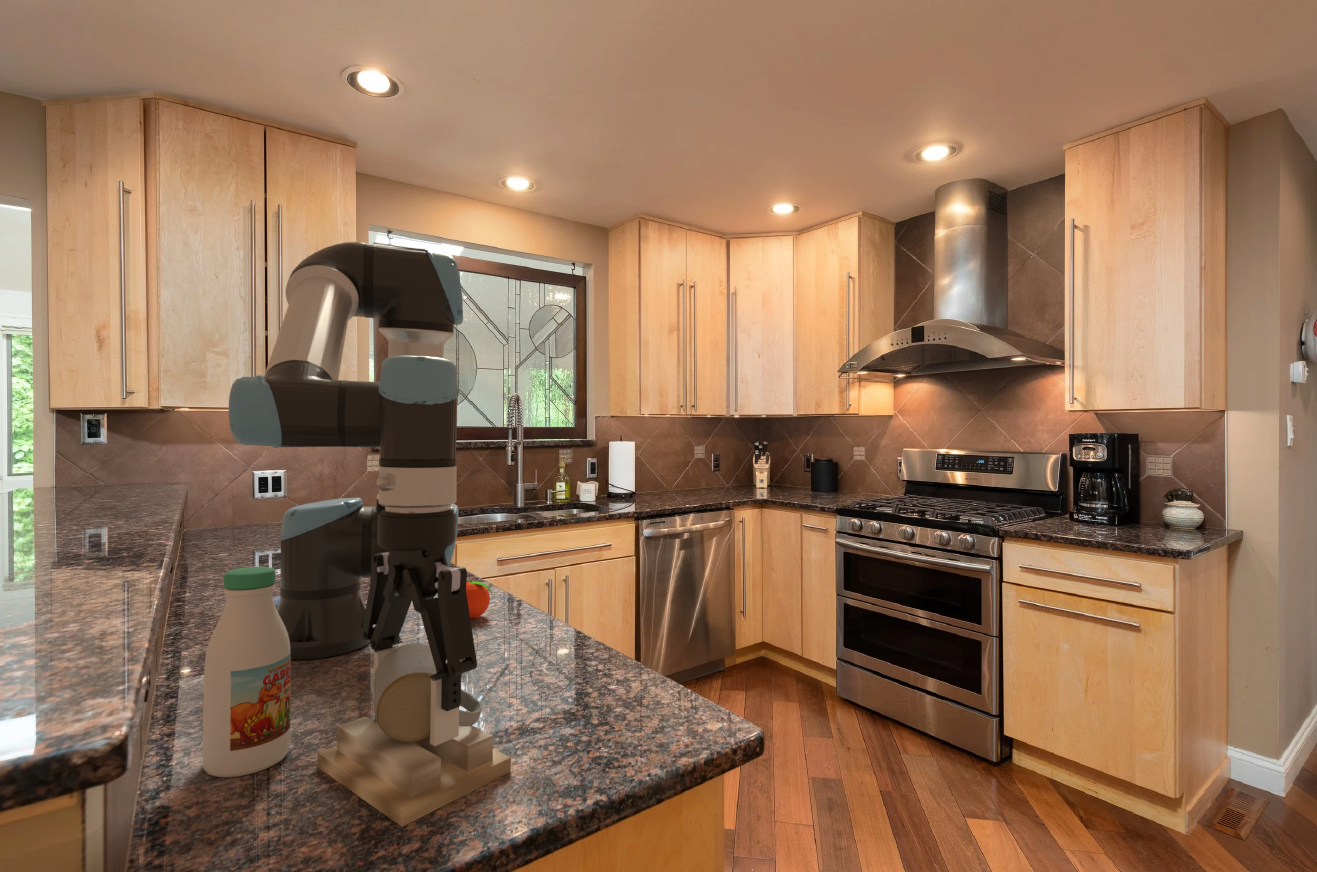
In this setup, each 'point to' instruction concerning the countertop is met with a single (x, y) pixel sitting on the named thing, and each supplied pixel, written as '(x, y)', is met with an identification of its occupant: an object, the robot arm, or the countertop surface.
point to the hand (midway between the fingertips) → (414, 724)
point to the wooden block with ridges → (411, 768)
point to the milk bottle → (247, 679)
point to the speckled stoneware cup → (411, 694)
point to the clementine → (477, 598)
